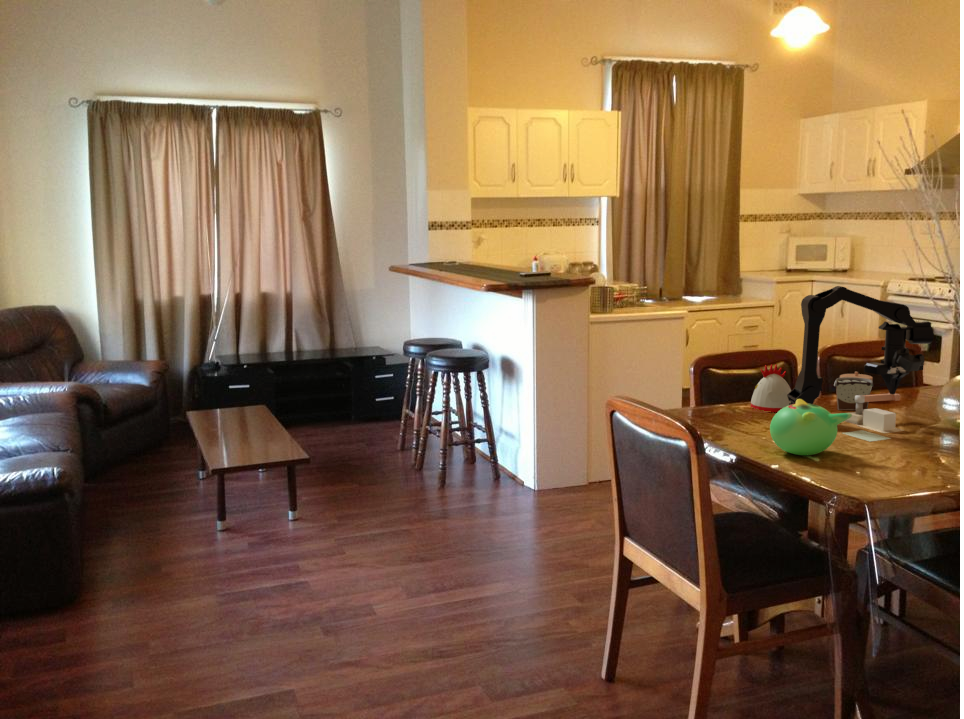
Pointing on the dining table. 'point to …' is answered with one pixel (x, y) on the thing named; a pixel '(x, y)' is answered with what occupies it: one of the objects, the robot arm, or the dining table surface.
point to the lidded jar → (857, 376)
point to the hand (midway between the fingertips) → (892, 394)
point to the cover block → (879, 419)
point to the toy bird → (805, 428)
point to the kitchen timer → (771, 391)
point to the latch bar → (876, 397)
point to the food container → (851, 391)
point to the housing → (858, 419)
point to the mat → (866, 435)
